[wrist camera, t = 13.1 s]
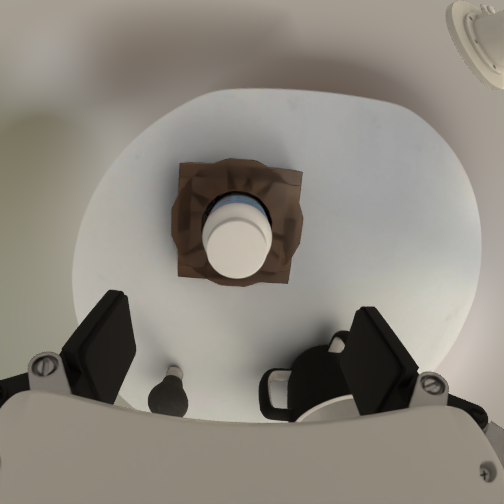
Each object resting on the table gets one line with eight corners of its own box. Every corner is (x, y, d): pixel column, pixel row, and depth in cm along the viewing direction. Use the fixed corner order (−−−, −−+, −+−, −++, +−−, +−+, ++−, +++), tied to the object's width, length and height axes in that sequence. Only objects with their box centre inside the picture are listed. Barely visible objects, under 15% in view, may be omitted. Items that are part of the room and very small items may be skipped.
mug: (290, 408, 43) (300, 462, 32) (248, 353, 38) (251, 419, 26) (374, 370, 41) (400, 421, 30) (352, 305, 36) (388, 360, 24)
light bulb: (169, 383, 40) (157, 430, 30) (152, 359, 38) (135, 407, 28) (199, 377, 39) (192, 427, 30) (184, 352, 37) (172, 403, 28)
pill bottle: (220, 184, 30) (209, 199, 19) (272, 201, 31) (289, 226, 20) (204, 233, 32) (187, 273, 21) (254, 249, 32) (260, 295, 22)
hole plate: (182, 156, 28) (173, 156, 25) (301, 165, 29) (309, 166, 26) (179, 267, 33) (172, 281, 29) (287, 274, 34) (292, 289, 30)
